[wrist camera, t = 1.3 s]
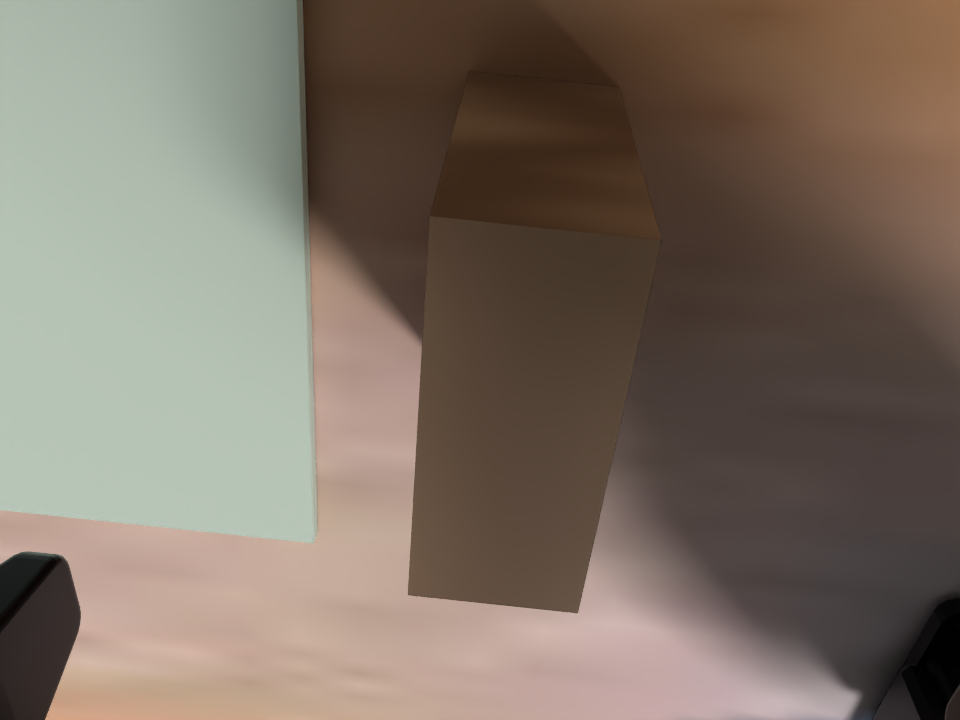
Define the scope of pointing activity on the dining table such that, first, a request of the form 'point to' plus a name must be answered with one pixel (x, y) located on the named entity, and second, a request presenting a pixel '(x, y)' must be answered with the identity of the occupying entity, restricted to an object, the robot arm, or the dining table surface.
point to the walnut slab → (527, 339)
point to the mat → (156, 265)
